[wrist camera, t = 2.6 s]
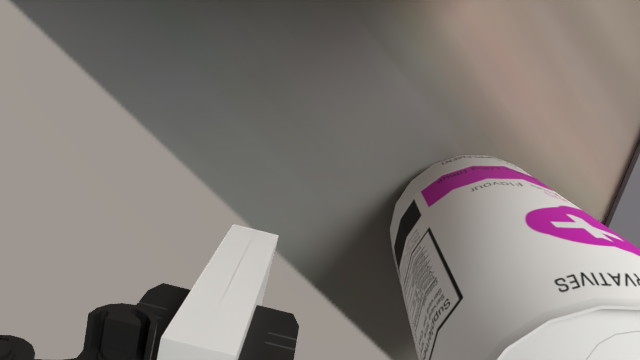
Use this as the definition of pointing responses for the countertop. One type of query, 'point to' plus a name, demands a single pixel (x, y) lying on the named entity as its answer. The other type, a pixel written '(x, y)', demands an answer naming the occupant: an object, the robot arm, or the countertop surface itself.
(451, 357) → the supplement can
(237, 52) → the countertop surface
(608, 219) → the mat
